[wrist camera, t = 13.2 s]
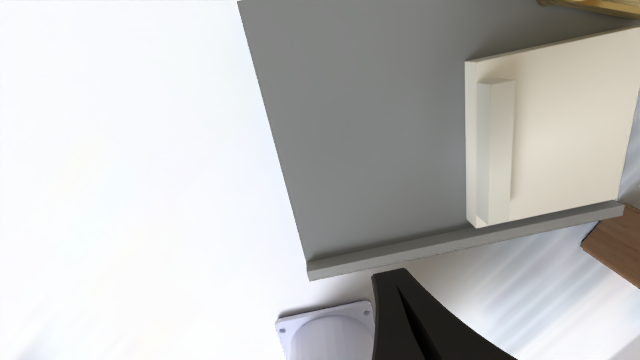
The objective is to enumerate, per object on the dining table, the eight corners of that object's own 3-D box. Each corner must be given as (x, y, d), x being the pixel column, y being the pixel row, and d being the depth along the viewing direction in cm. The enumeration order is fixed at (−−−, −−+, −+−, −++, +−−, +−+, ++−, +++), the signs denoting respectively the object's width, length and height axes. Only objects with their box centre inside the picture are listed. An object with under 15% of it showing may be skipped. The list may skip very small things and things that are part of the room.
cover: (599, 190, 21) (637, 208, 18) (466, 219, 21) (487, 239, 18) (628, 26, 17) (682, 22, 14) (464, 61, 17) (491, 63, 14)
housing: (582, 200, 23) (621, 220, 20) (309, 258, 23) (310, 286, 21) (625, -77, 17) (691, -103, 14) (243, 6, 17) (232, -2, 14)
